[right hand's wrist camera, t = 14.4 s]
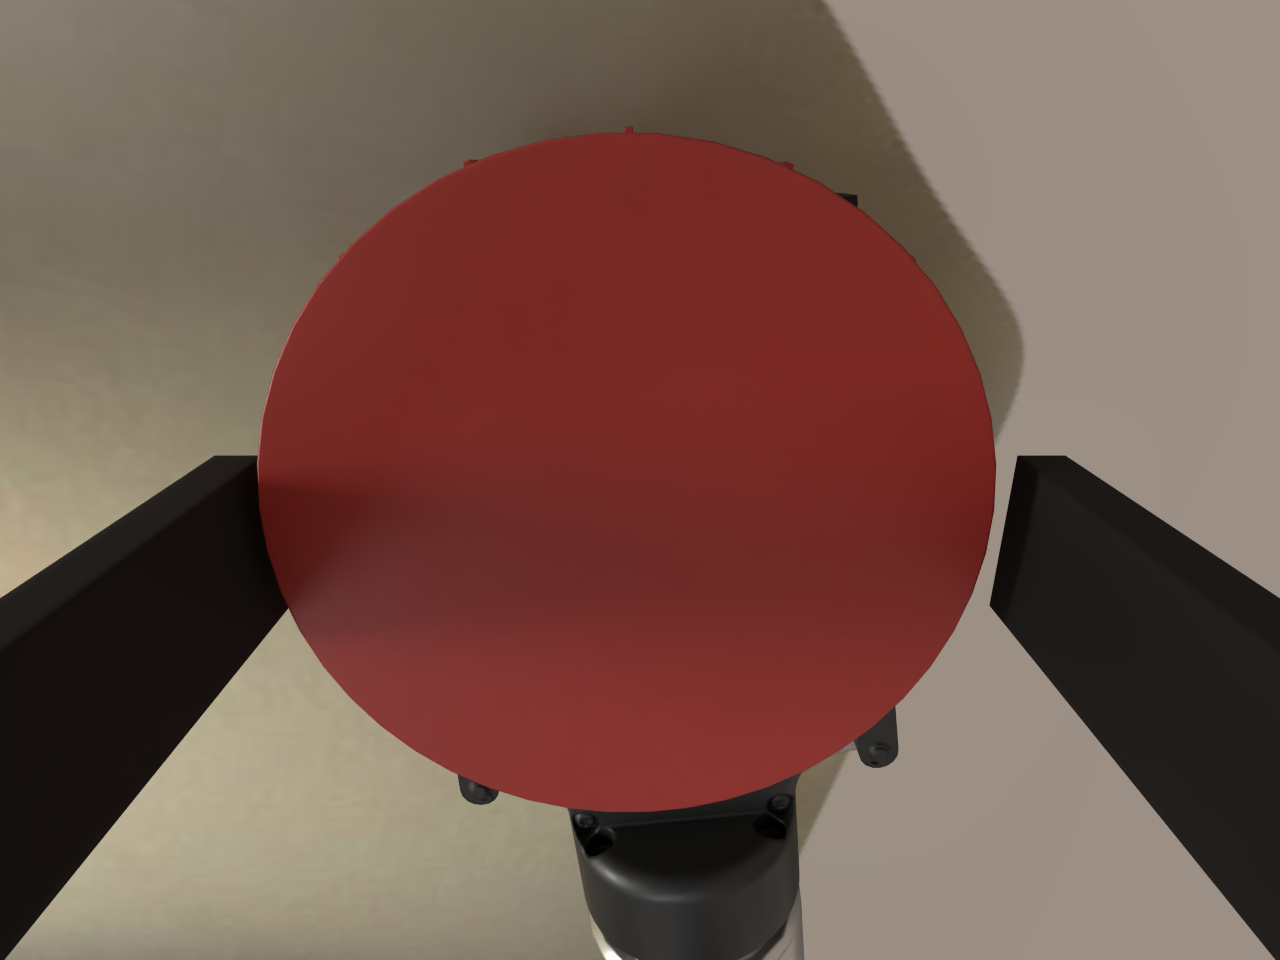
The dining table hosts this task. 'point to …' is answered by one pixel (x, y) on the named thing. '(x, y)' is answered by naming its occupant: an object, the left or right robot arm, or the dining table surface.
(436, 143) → the dining table surface
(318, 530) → the lid
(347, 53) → the dining table surface
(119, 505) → the dining table surface
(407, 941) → the dining table surface
